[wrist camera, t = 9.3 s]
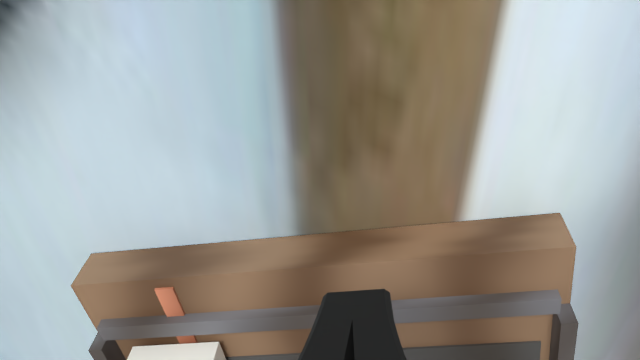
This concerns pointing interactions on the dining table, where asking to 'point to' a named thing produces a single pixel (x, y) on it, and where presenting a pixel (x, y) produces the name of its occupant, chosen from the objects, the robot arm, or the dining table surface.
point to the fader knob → (178, 352)
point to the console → (345, 275)
